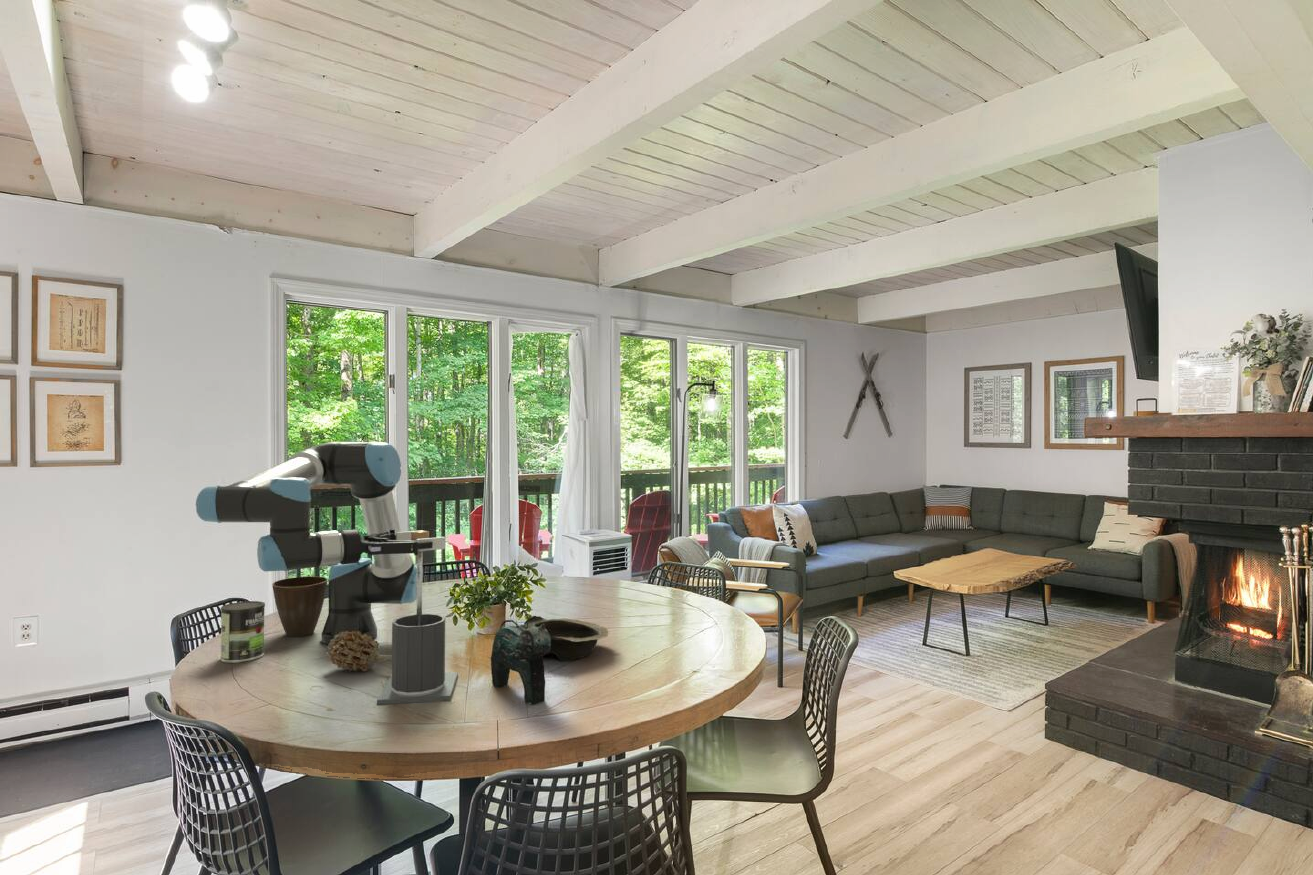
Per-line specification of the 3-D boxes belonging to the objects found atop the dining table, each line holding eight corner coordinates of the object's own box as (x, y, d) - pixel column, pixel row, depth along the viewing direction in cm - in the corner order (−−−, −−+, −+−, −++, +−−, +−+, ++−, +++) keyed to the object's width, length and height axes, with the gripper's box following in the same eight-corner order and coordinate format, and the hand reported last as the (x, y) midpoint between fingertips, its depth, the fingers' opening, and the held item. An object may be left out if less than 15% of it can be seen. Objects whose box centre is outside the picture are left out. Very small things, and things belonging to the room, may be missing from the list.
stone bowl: (501, 657, 188) (503, 622, 188) (555, 640, 210) (556, 610, 210) (576, 671, 176) (577, 634, 177) (625, 652, 198) (626, 619, 199)
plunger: (402, 639, 166) (403, 529, 166) (441, 637, 168) (442, 529, 168) (394, 650, 157) (395, 535, 157) (436, 649, 159) (437, 534, 159)
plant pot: (311, 641, 201) (311, 586, 201) (261, 640, 201) (261, 586, 201) (336, 627, 216) (336, 576, 216) (289, 626, 216) (289, 575, 216)
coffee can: (273, 652, 190) (273, 601, 190) (244, 664, 180) (244, 610, 180) (241, 649, 193) (242, 599, 192) (210, 661, 182) (211, 608, 182)
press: (391, 679, 170) (391, 611, 170) (457, 675, 173) (458, 608, 173) (376, 704, 154) (377, 628, 154) (450, 699, 157) (451, 626, 157)
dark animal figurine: (553, 702, 157) (553, 615, 157) (529, 710, 152) (530, 620, 152) (506, 679, 171) (506, 599, 171) (483, 686, 166) (483, 603, 166)
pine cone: (316, 675, 173) (317, 635, 173) (338, 662, 182) (338, 625, 182) (399, 679, 170) (400, 639, 170) (417, 666, 180) (417, 628, 180)
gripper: (324, 556, 160) (414, 548, 174) (355, 573, 141) (454, 562, 155) (324, 524, 160) (414, 518, 174) (356, 537, 141) (454, 529, 155)
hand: (433, 539), depth 164 cm, fingers open, 13 cm apart
